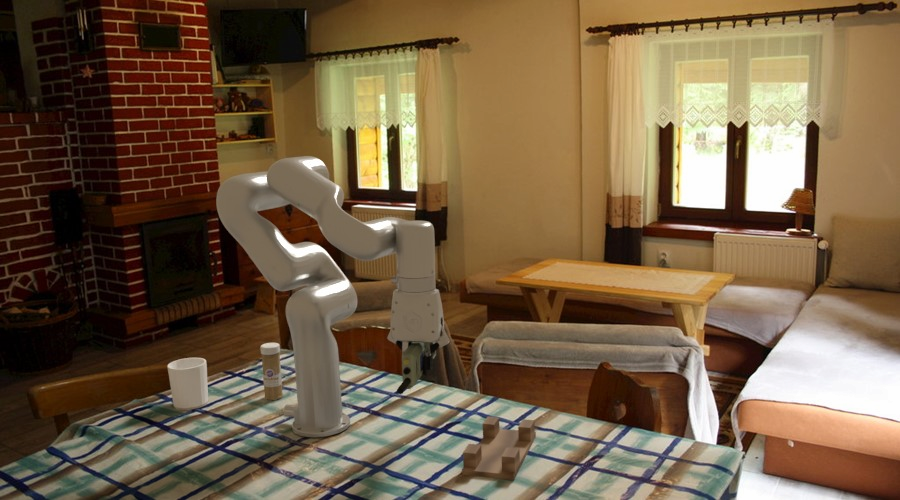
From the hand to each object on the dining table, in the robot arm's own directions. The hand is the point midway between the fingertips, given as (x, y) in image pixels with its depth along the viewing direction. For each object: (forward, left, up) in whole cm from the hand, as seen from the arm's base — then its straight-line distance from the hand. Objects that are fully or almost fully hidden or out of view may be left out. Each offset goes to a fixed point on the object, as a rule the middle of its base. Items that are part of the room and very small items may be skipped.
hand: (419, 371), depth 157 cm
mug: (-65, +11, -16) cm, 67 cm away
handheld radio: (-1, 0, -1) cm, 1 cm away
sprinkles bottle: (-46, +19, -16) cm, 52 cm away
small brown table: (+16, 0, -16) cm, 23 cm away
